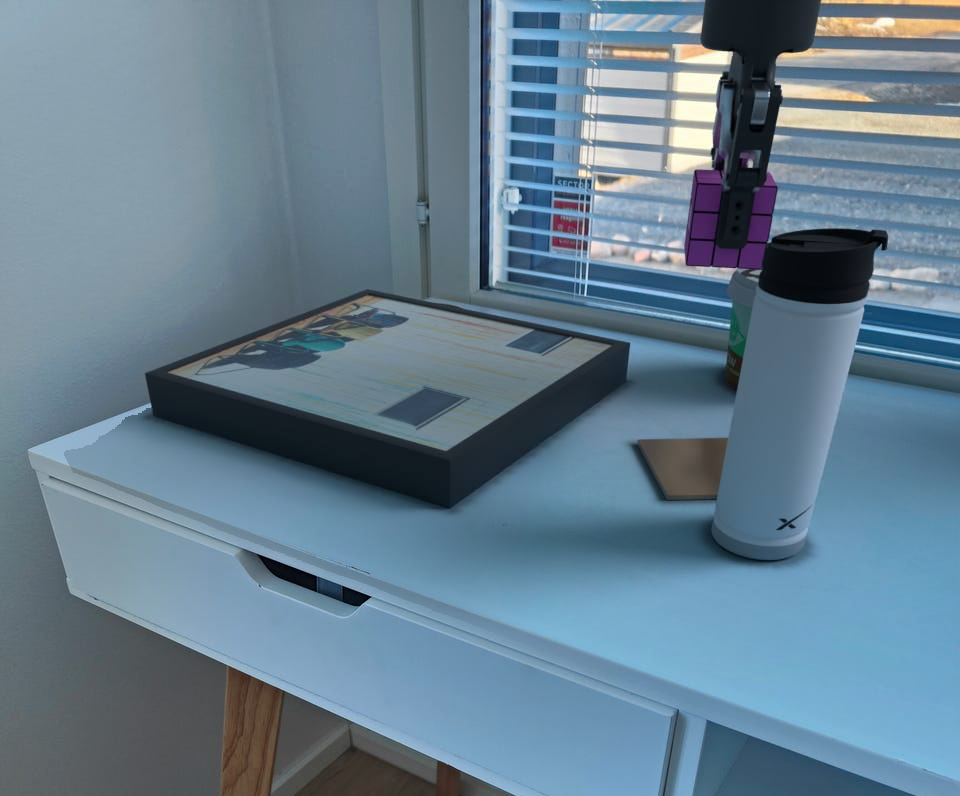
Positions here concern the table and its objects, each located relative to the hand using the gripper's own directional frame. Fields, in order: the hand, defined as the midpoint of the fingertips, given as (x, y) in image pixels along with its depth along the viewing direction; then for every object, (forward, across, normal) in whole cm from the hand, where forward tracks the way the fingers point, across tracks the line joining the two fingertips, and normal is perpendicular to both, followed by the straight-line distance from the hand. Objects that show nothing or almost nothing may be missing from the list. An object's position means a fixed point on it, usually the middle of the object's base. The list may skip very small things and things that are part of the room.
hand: (725, 236), depth 71 cm
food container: (+15, +11, -6) cm, 20 cm away
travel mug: (+15, -19, -3) cm, 25 cm away
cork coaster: (+15, -8, -1) cm, 17 cm away
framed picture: (+15, +2, +26) cm, 30 cm away
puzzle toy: (+2, 0, 0) cm, 2 cm away
